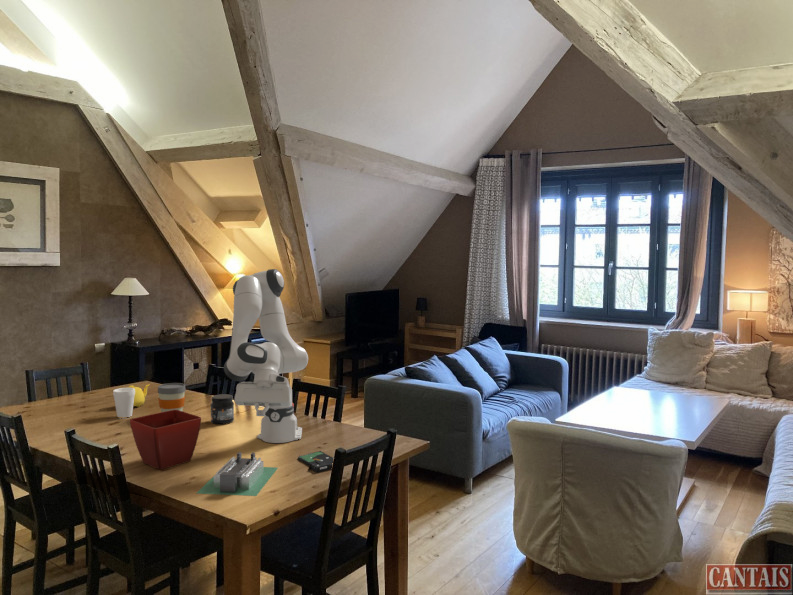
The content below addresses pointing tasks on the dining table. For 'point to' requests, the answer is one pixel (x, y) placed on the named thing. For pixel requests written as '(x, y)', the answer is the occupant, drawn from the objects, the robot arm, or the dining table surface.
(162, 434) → the plant pot
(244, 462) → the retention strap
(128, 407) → the foam cup
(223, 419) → the supplement container
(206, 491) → the circuit board
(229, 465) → the heat sink
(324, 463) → the disk drive
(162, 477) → the dining table surface
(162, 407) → the reusable coffee cup
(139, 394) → the teapot
